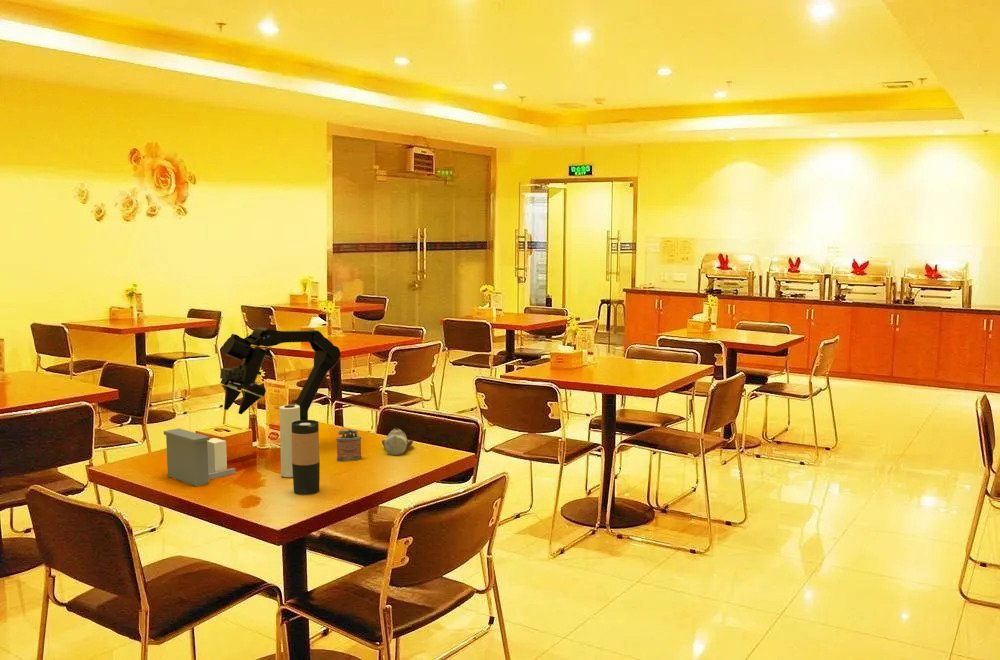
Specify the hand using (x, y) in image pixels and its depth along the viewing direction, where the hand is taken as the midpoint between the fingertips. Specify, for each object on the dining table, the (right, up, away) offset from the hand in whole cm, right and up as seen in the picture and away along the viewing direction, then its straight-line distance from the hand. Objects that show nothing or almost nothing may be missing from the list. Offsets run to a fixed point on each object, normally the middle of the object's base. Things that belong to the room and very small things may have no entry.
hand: (232, 411), depth 270 cm
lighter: (+35, -17, +11) cm, 40 cm away
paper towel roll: (+20, -19, -7) cm, 29 cm away
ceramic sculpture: (+49, -16, +22) cm, 56 cm away
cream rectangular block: (-3, -18, -6) cm, 19 cm away
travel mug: (+28, -21, -24) cm, 42 cm away
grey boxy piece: (-6, -19, -8) cm, 21 cm away
